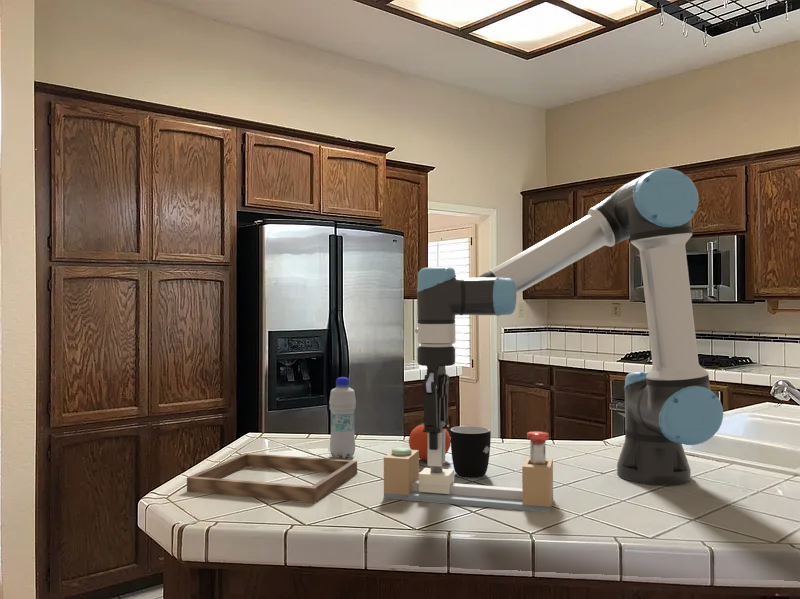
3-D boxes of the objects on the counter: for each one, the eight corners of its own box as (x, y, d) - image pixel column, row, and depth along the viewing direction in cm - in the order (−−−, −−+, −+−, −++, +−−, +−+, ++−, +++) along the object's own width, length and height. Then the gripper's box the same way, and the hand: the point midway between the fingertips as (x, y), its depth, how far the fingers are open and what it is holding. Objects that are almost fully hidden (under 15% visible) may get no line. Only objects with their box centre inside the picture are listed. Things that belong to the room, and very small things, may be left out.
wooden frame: (357, 473, 150) (357, 460, 150) (314, 502, 128) (314, 488, 128) (245, 464, 158) (245, 453, 158) (186, 491, 136) (186, 477, 136)
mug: (488, 481, 143) (487, 434, 143) (447, 478, 145) (446, 432, 145) (494, 468, 154) (494, 424, 155) (456, 465, 157) (456, 422, 157)
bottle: (361, 455, 167) (361, 376, 168) (345, 461, 162) (345, 378, 162) (340, 452, 171) (340, 375, 171) (323, 457, 165) (323, 377, 165)
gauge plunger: (549, 479, 127) (549, 432, 127) (548, 484, 123) (547, 436, 124) (528, 477, 128) (528, 431, 129) (526, 482, 125) (526, 434, 125)
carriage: (454, 487, 133) (453, 420, 133) (448, 494, 128) (448, 424, 128) (425, 485, 135) (424, 418, 135) (418, 492, 130) (418, 423, 130)
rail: (553, 499, 129) (552, 454, 129) (550, 512, 121) (549, 464, 121) (395, 487, 138) (395, 445, 138) (383, 498, 131) (383, 453, 131)
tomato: (459, 461, 161) (459, 420, 161) (425, 467, 155) (425, 424, 155) (433, 454, 169) (433, 414, 169) (400, 459, 163) (400, 418, 163)
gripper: (427, 342, 140) (427, 454, 140) (407, 347, 126) (407, 471, 125) (462, 343, 138) (462, 456, 138) (446, 348, 123) (446, 474, 123)
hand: (436, 463), depth 132 cm, fingers closed on carriage, 2 cm apart
